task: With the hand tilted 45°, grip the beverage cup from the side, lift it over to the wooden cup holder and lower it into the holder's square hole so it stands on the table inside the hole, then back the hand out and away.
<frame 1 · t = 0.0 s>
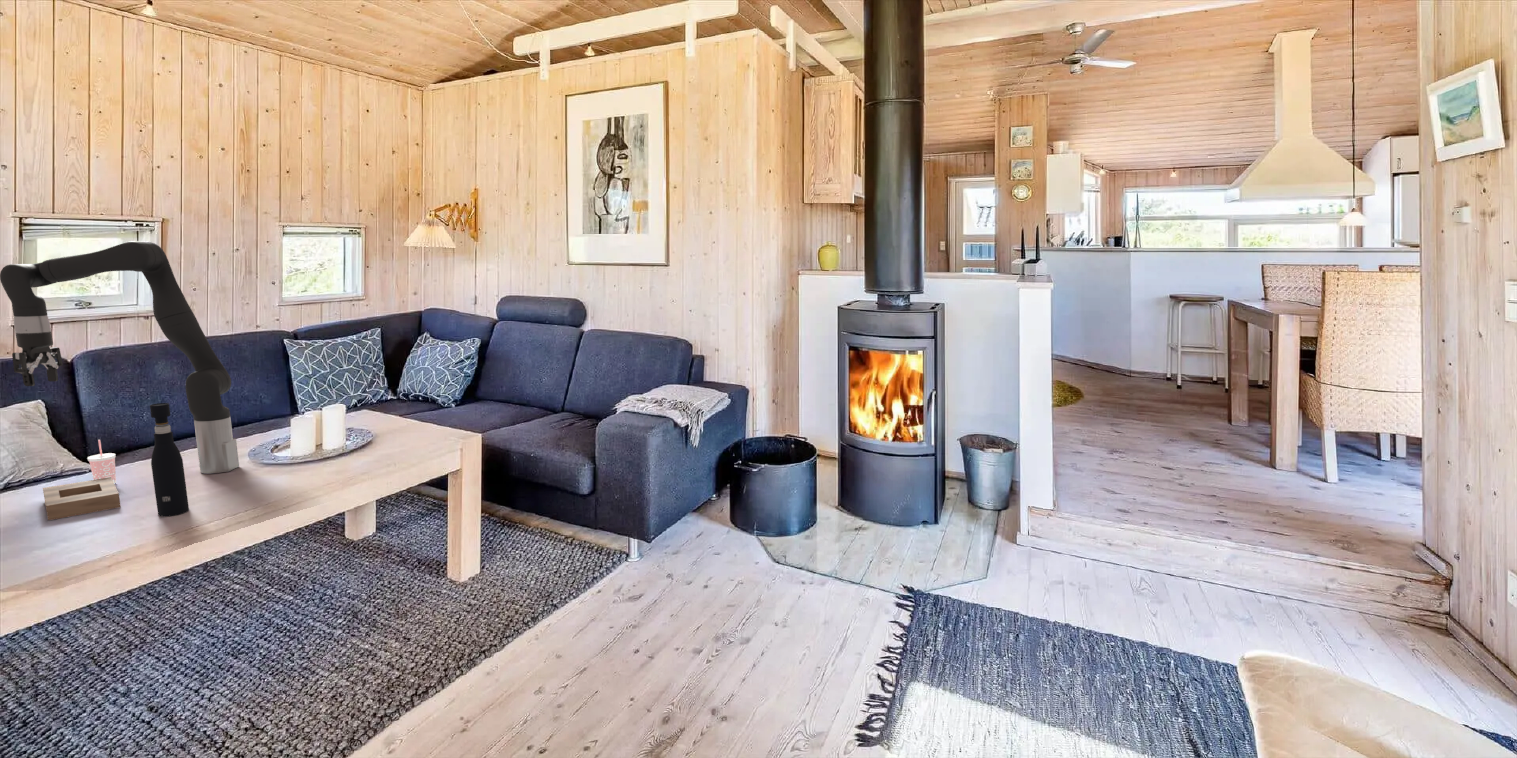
hand: (41, 383, 209), 29 cm above the table, tool pointing down, fingers open, 8 cm apart
black water bottle: (173, 513, 185), on the table
wooden cup holder: (82, 504, 190), on the table
beverage cup: (105, 485, 206), on the table
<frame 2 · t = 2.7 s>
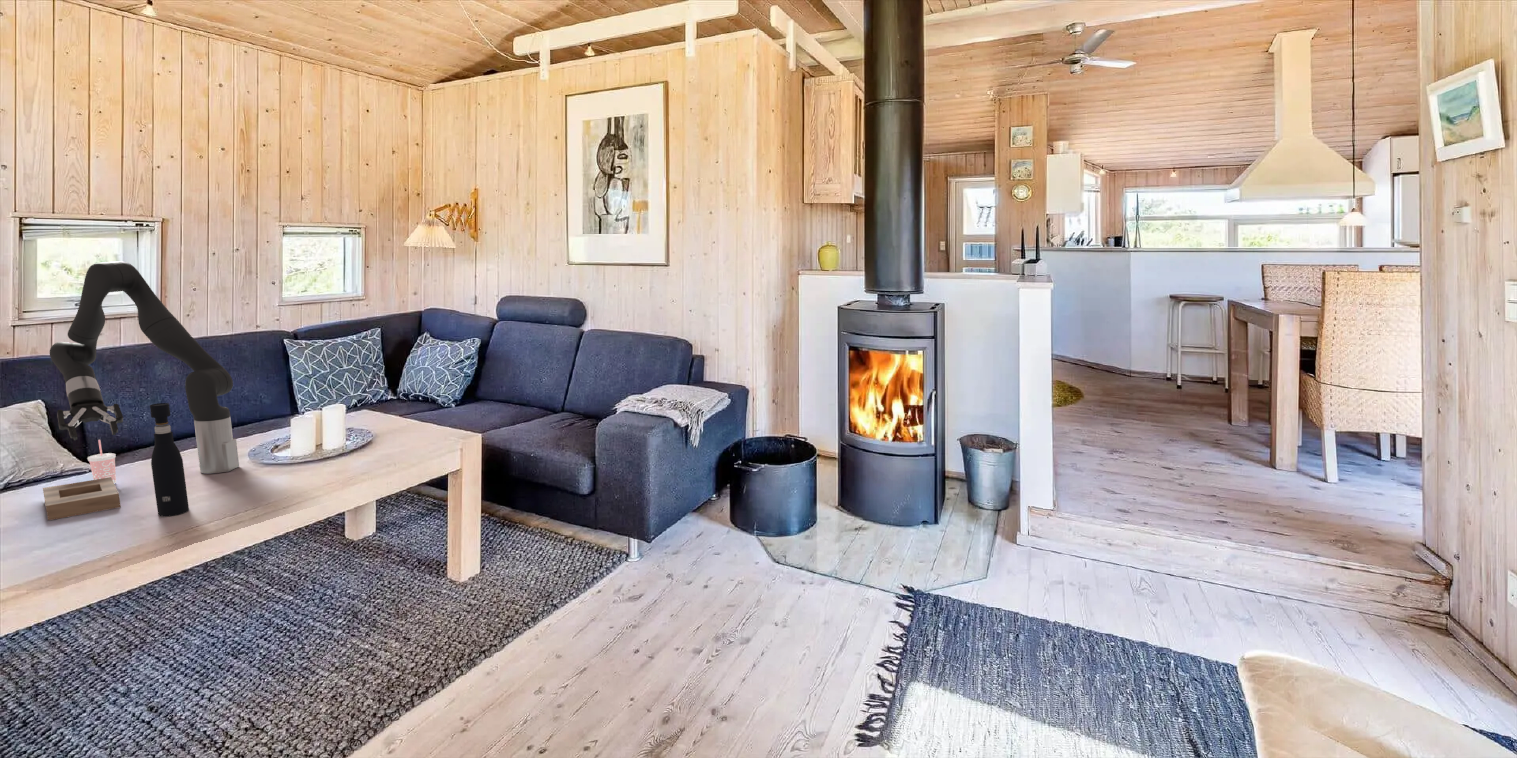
hand: (95, 435, 208), 14 cm above the table, tool tilted 45°, fingers open, 8 cm apart
nothing on the table moved.
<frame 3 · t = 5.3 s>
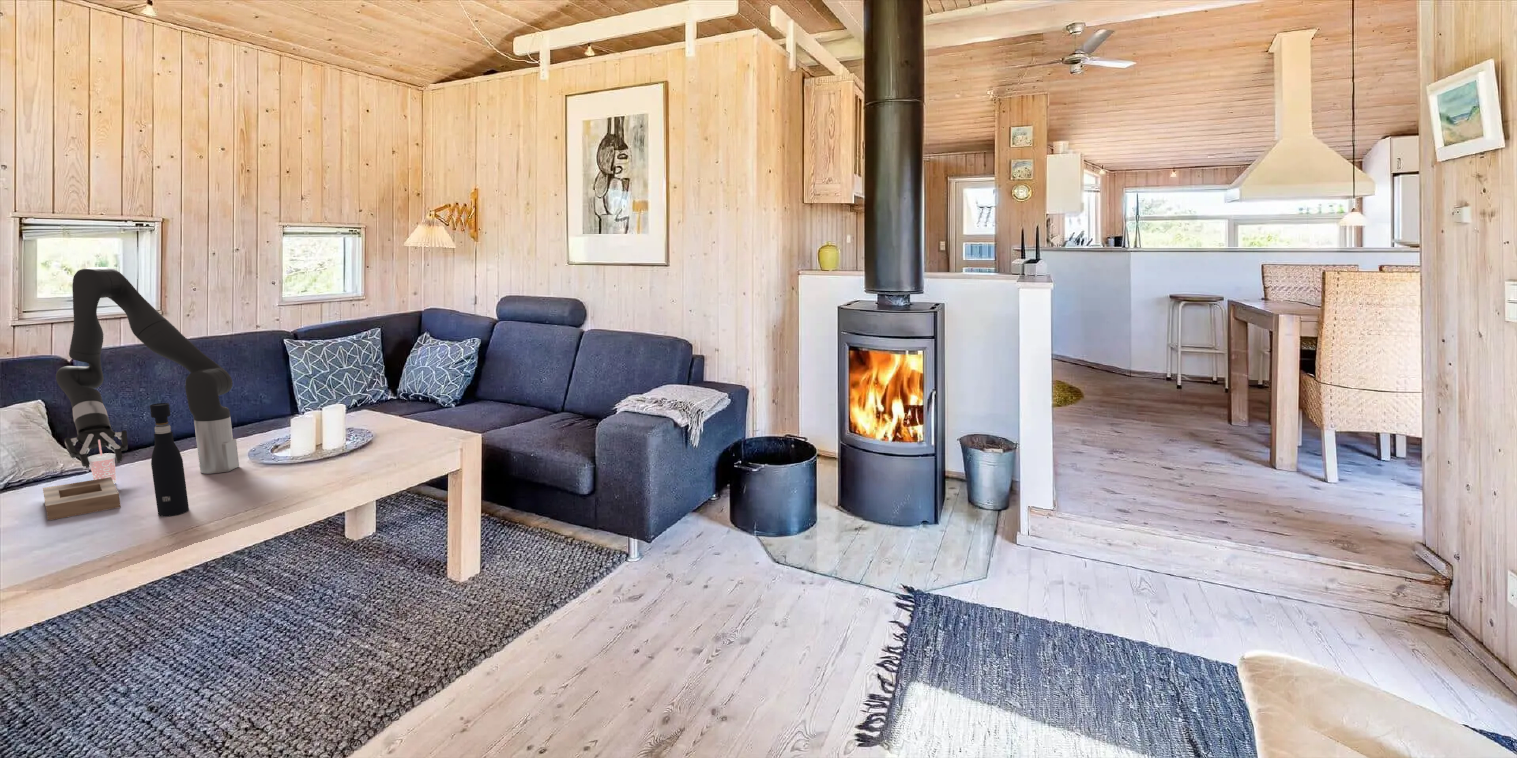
hand: (103, 463, 204), 7 cm above the table, tool tilted 45°, fingers closed on beverage cup, 6 cm apart
beverage cup: (105, 485, 206), on the table, touching gripper
everything else where it was.
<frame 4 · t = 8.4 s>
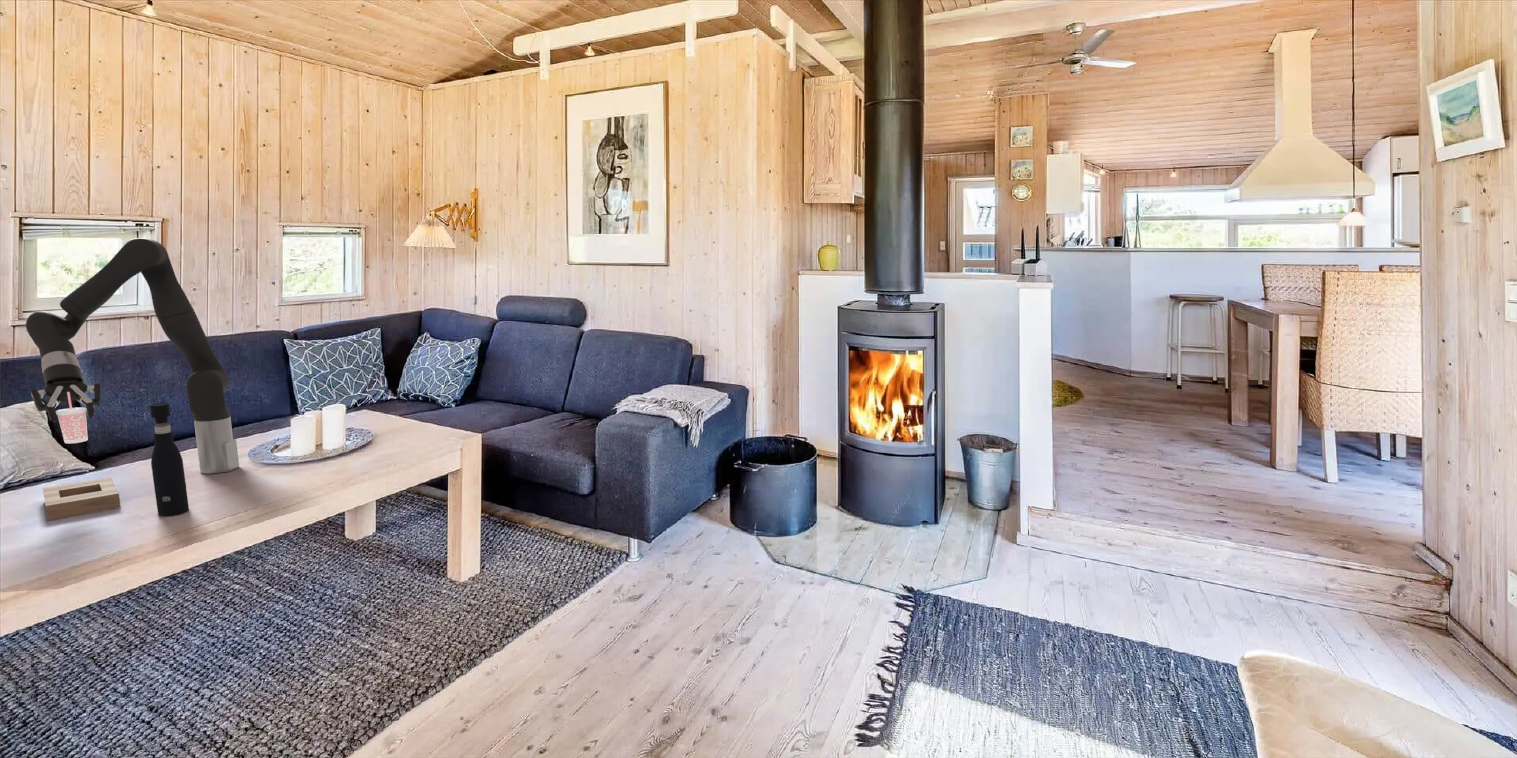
hand: (73, 418, 187), 24 cm above the table, tool tilted 45°, fingers closed on beverage cup, 6 cm apart
beverage cup: (76, 441, 190), point 17 cm above the table, touching gripper
everything else where it was.
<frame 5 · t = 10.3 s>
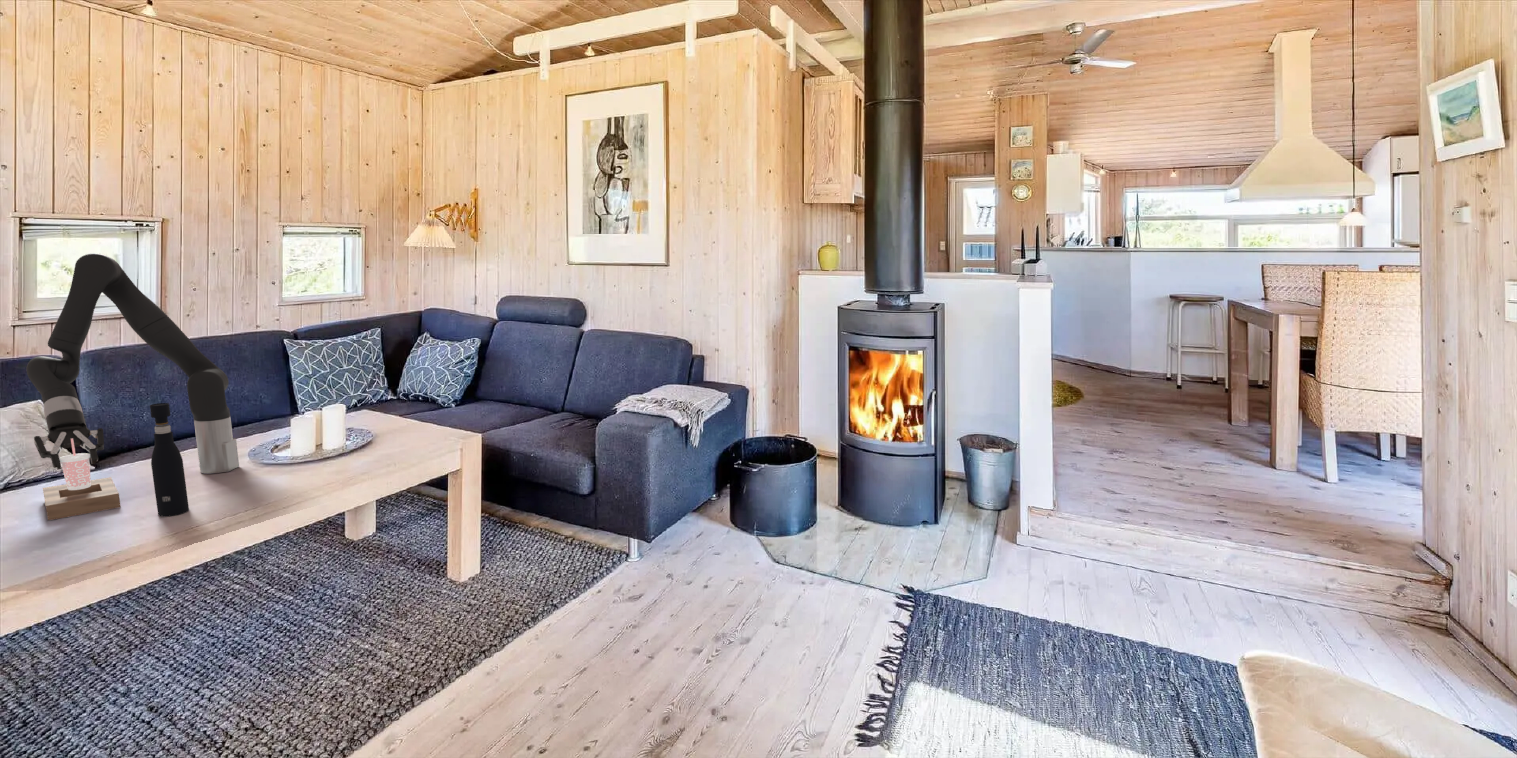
hand: (76, 465, 187), 12 cm above the table, tool tilted 45°, fingers closed on beverage cup, 6 cm apart
beverage cup: (79, 488, 189), point 5 cm above the table, touching gripper
everything else where it was.
when the fingers open (8 cm above the table, at t = 11.6 s): beverage cup drops 1 cm, resting in wooden cup holder.
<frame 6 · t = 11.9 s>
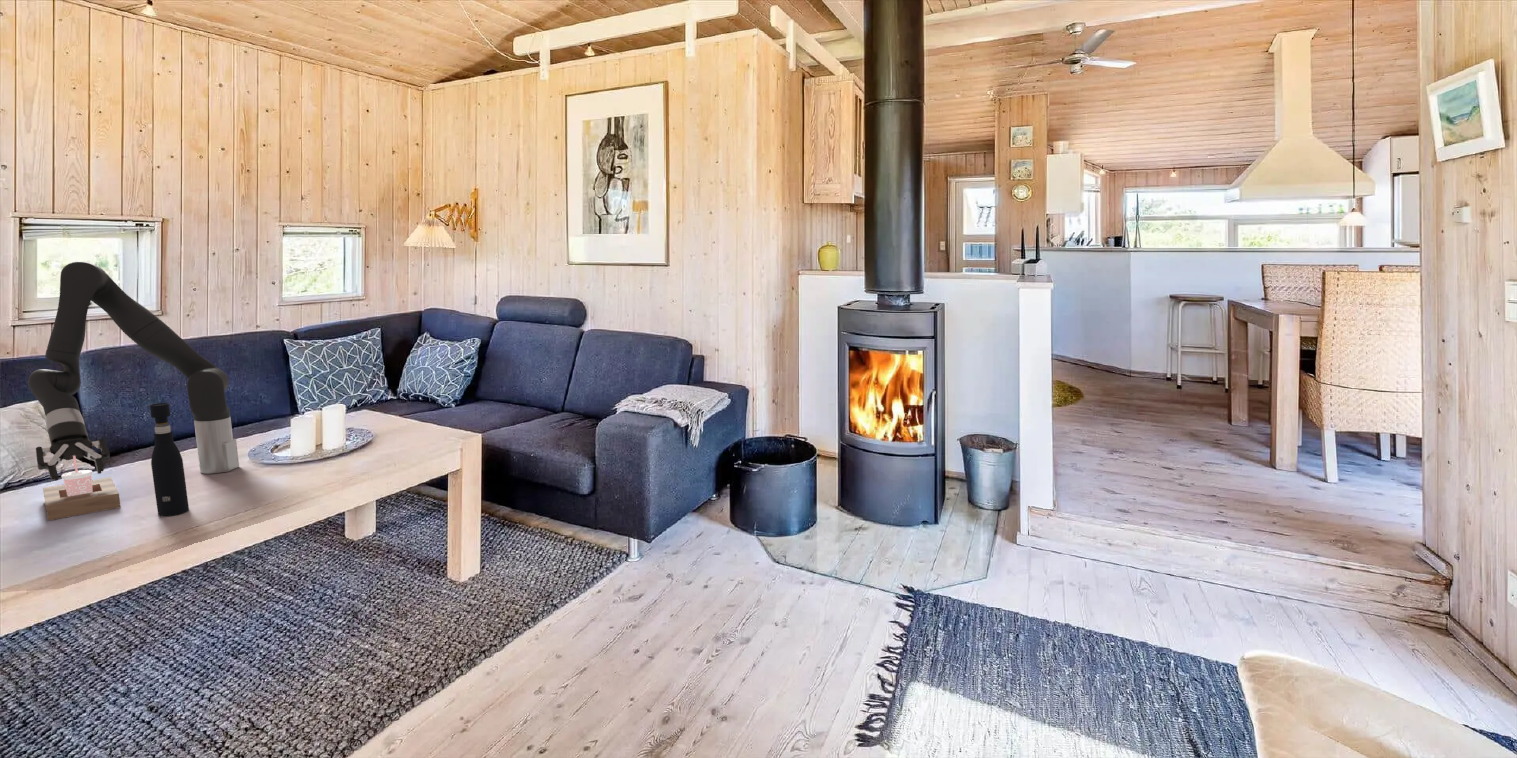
hand: (78, 475, 187), 9 cm above the table, tool tilted 45°, fingers open, 8 cm apart
beverage cup: (82, 505, 190), resting in wooden cup holder
everything else where it was.
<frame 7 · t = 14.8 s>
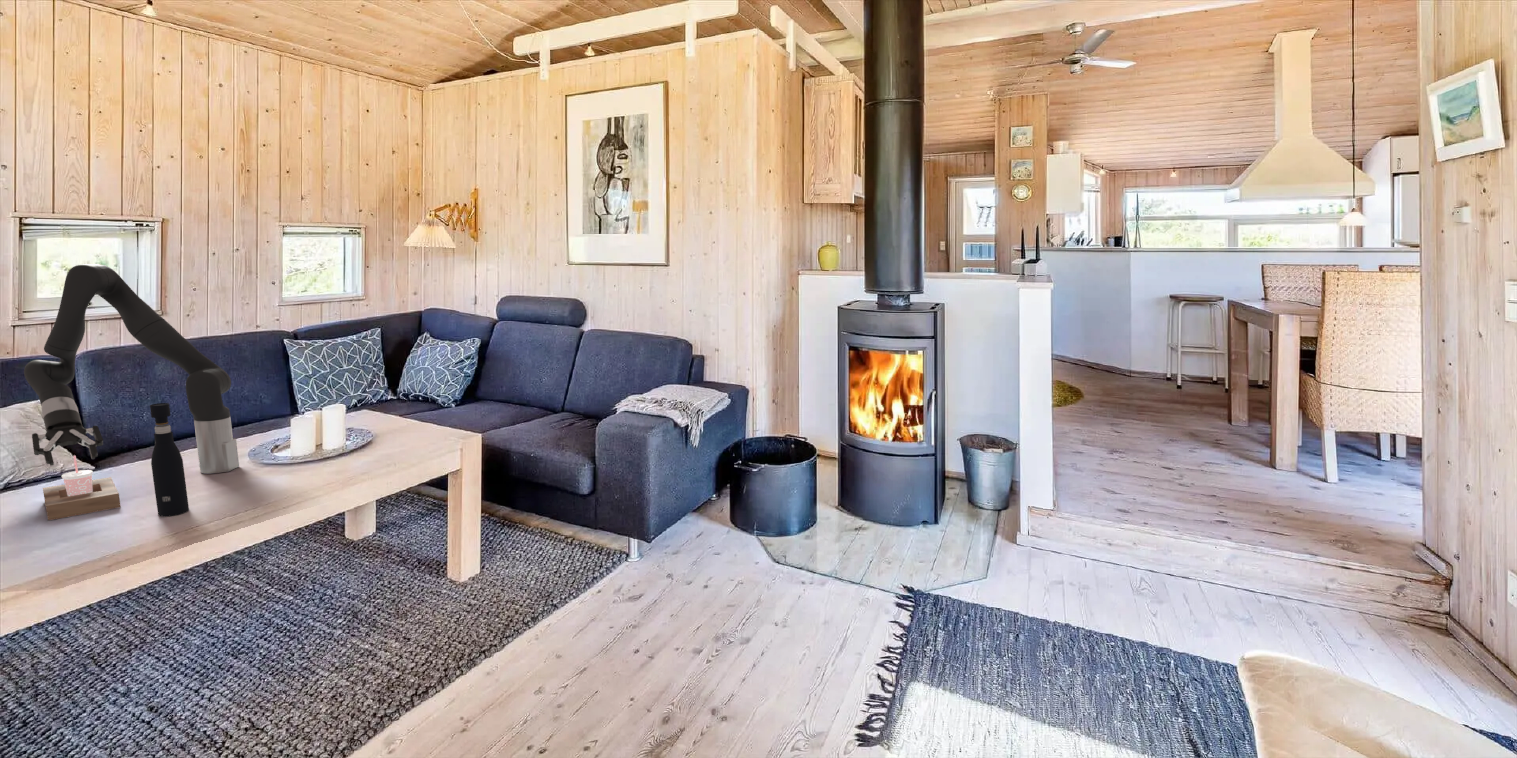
hand: (73, 460, 196), 10 cm above the table, tool tilted 45°, fingers open, 8 cm apart
nothing on the table moved.
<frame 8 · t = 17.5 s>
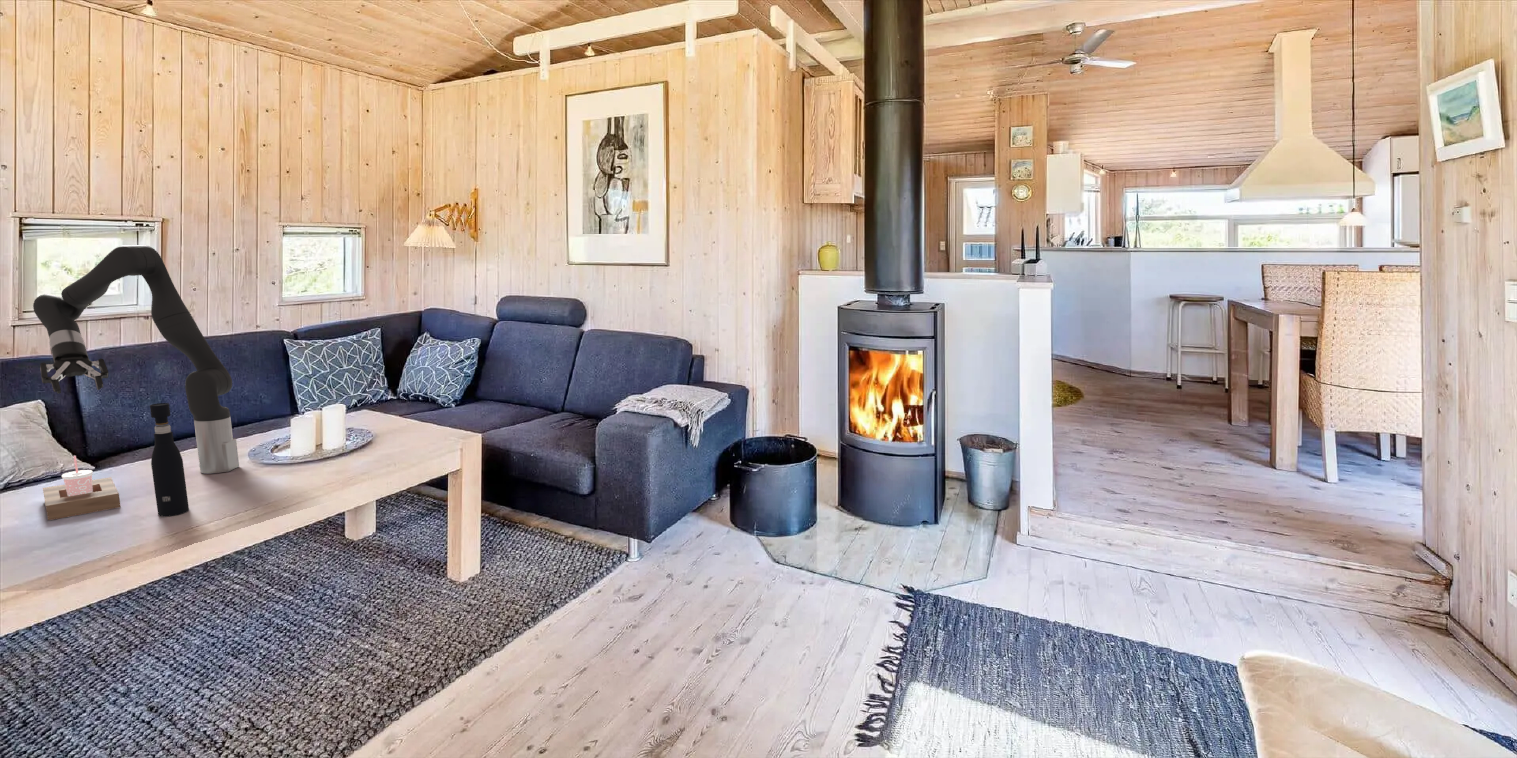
hand: (79, 390, 203), 29 cm above the table, tool tilted 45°, fingers open, 8 cm apart
nothing on the table moved.
at the end: beverage cup 0.2 cm off-centre on the wooden cup holder, point 0.0 cm above the wooden cup holder's base; beverage cup tilted 0°; the gripper is holding nothing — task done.
